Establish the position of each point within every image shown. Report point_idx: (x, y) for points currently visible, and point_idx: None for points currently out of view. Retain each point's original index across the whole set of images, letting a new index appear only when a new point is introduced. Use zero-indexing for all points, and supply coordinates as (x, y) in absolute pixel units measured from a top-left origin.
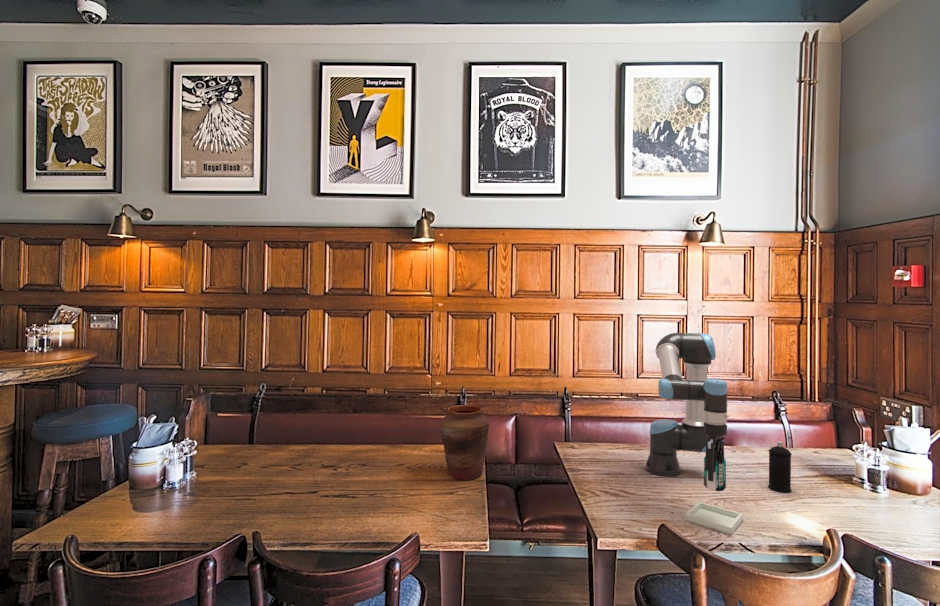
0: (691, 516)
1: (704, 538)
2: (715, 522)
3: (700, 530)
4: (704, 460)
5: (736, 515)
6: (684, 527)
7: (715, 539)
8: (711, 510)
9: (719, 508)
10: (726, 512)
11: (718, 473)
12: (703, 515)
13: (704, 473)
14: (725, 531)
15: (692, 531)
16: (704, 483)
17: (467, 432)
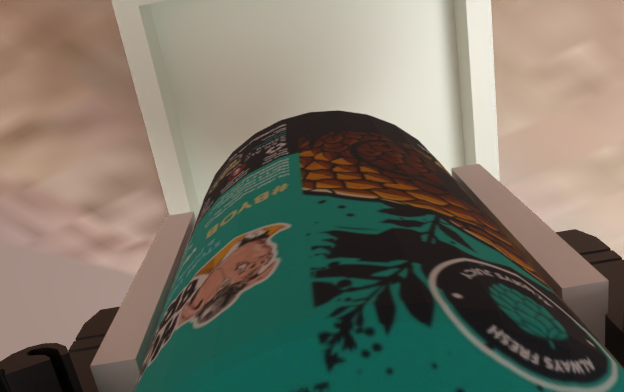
0: (123, 36)
1: (4, 206)
2: (181, 210)
3: (86, 135)
4: (176, 364)
5: None
6: (19, 37)
7: (59, 251)
8: (457, 40)
9: (471, 109)
10: (469, 155)
11: None
12: (319, 40)
13: (213, 213)
14: None
15: (18, 108)
16: (229, 160)
17: None
